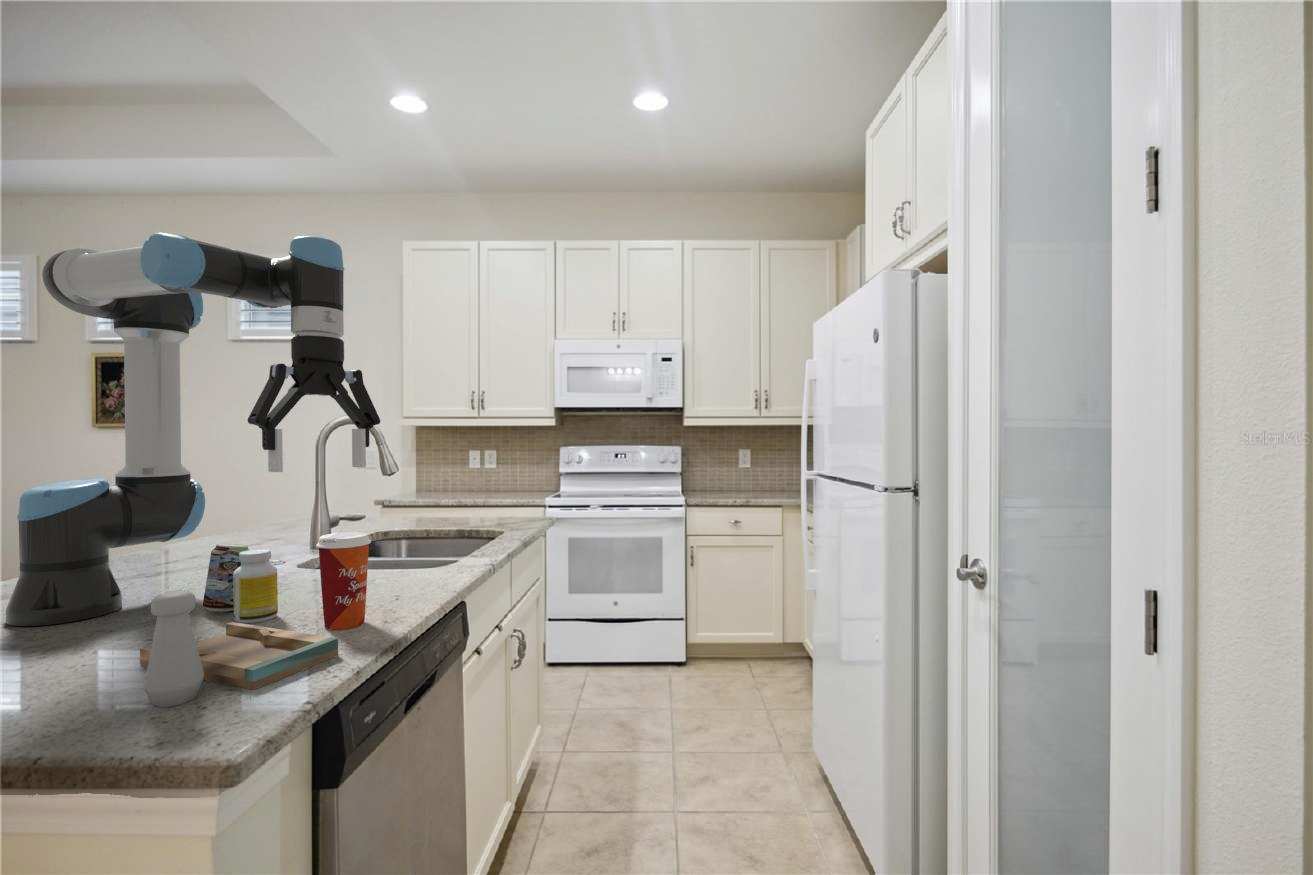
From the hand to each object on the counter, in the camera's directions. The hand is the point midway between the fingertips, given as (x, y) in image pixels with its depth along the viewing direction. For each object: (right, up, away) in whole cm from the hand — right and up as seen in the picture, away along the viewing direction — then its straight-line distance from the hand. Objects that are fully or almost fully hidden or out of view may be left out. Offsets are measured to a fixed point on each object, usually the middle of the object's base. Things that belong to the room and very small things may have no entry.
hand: (319, 469), depth 103 cm
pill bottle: (-15, -26, +7) cm, 31 cm away
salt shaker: (-4, -27, -26) cm, 37 cm away
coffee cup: (+2, -26, +4) cm, 27 cm away
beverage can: (-23, -26, +13) cm, 37 cm away
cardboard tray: (-4, -26, -13) cm, 30 cm away
